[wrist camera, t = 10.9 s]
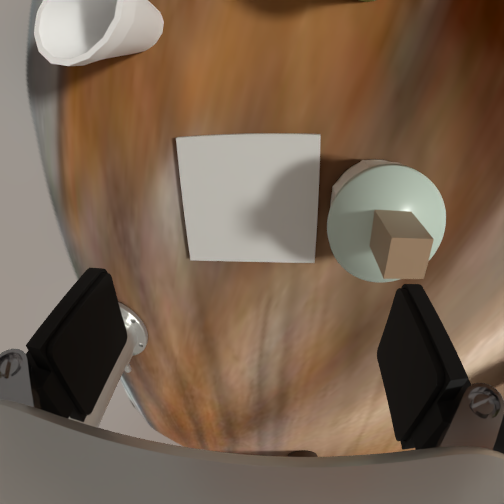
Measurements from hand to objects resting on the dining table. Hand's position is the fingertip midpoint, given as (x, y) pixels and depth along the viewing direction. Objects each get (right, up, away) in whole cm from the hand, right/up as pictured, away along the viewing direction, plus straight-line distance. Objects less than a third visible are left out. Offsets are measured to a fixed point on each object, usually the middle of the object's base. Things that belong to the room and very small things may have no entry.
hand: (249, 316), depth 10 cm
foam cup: (-13, +28, +19) cm, 36 cm away
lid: (+14, +5, +21) cm, 26 cm away
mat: (0, +8, +28) cm, 29 cm away
